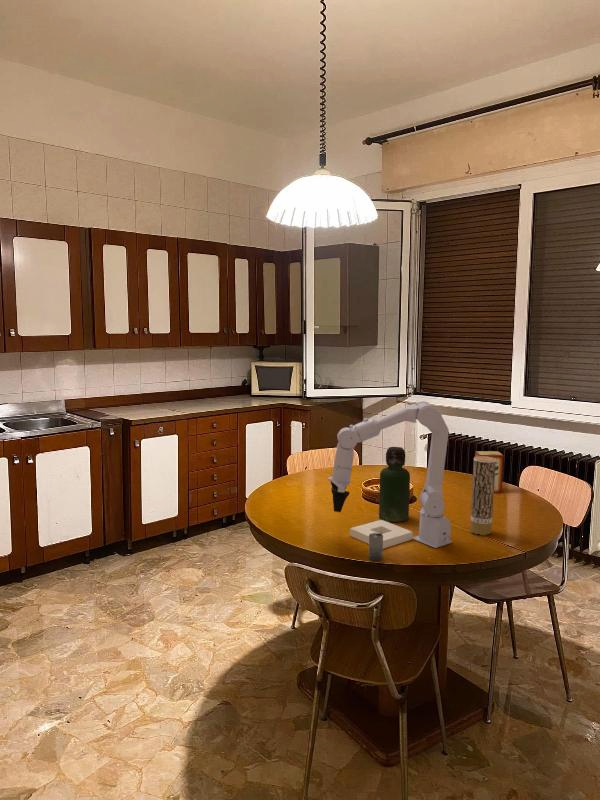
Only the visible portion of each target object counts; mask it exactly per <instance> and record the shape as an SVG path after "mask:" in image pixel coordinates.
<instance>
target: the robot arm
mask: <svg viewBox="0 0 600 800" xmlns="http://www.w3.org/2000/svg"><path fill="white" fill-rule="evenodd" d="M417 421H418V422H419V424H421V425H422V426H424V427H426V428H427V429H428V431H429V432H431V438H430V439H431V440H430V447H429V454H428V461H427V462H428V465H427V471H426V479H425V483H424V484H423V489H422V492H421V493H420V495H419V502H420V505H422V506H421V508H420V510H419V524H418V525H419V526H418V527H419V528H418V535H416V536H412V540H415V541H417V542H418V543H422V544H424V545H427V546H430V547H432V548H434V549H437V548H439V547H444V546H446V545H448V544H451V543H453V541H452V540H451V533H452V523H451V520H450V519H449V518H448V517H446V516H445V515H444V511H445V509H446V506H445V504H446V503H445V502H444V491H443V481H444V473H445V467H446V466H445V464H446V457H447V447H448V442H449V441H448V440H449V433H450V431H449V430H450V429H449V428H448V426H447V424H446V422H445V419H444V418H443V415H442V413H441V412H440V411H439V410H438V409H437V408H436V407H435V406H433V405H432V404H431V403H429V402H428V401H425V400H423V401H418V402H417V403H412V404H408V405H407V406H404V407H402V408H400V409H398V410H397V411H396V410H395V411H393V412H391V413H390V414H388V415H384V416H383V417H381V418H379V419H375V418H372V417H371V418H368V417H365V418H363V420H362V421H360V422H358V423H356V424H354V425H353V424H350V425H349V427H343V428H341V429H340V430H339V431H338V432H337V434H336V437H337V441H338V442H337V445H336V450H335V454H334V456H335V457H334V461H333V470H332V475H331V476H330V477H327V481H329V482H330V484H331V489H330V490H331V491H330V492H331V494H332V503H333V511H334V512H335V513H341V512H342V510H343V506H344V504H345V502H346V500H347V498H348V497H349V495H350V491H347V490H346V488H348V486H349V485H350V484H351V478H352V477H351V475H352V469H353V462H354V456H355V447H356V446H357V444H358V443H363V442H365V441H367V440H369V439H372V438H374V437H377V436H379V435H380V433H381V430H383V429H387V428H390V427H392V426H395V425H398V424H400V423H403V422H409V423H414V424H416V423H417Z"/></svg>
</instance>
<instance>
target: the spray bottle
mask: <svg viewBox="0 0 600 800" xmlns="http://www.w3.org/2000/svg"><path fill="white" fill-rule="evenodd" d="M385 463H386V465H387V466H386V467H384V468H382V470H381V471H380V472H379V473H380V474H379V498H378V501H379V502H378V517H379V519H380V520H383V521H386V522H389V523H391V522H392V523H400V522H405V521H407V520H408V519H409V517H410V512H409V511H410V487H411V473H410V472H409V470H408V469H406V468H404V466H405V463H406V451H405V449H404V448H403V447H401V446H389V447H388V448H387V450H386V452H385Z"/></svg>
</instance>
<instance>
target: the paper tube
mask: <svg viewBox="0 0 600 800" xmlns="http://www.w3.org/2000/svg"><path fill="white" fill-rule="evenodd" d="M495 464H496V459H495V458H493V457H488V456H476V457H475V456H474V457H473V467H472V468H473V469H472V486H471V489H472V490H471V506H470V507H471V509H470V526H469V527H470V528H469V529H470V532H471V533H472V532H473V533H472V534H474V533H475V534H474V535H477V534H480V535H479V536H488V535H487V534H489V535H491V534H492V531H493V518H494V517H493V515H494V499H495V495H494V494H495V493H494V482H495ZM490 533H491V534H490Z"/></svg>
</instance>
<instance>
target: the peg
mask: <svg viewBox="0 0 600 800" xmlns="http://www.w3.org/2000/svg"><path fill="white" fill-rule="evenodd" d="M383 549H384V548H383V535H382V534H379V533H372V534H370V535H369V544H368V560H369V561H371V562H381V561H382V560H383V554H384V553H383V552H384V551H383Z"/></svg>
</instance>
